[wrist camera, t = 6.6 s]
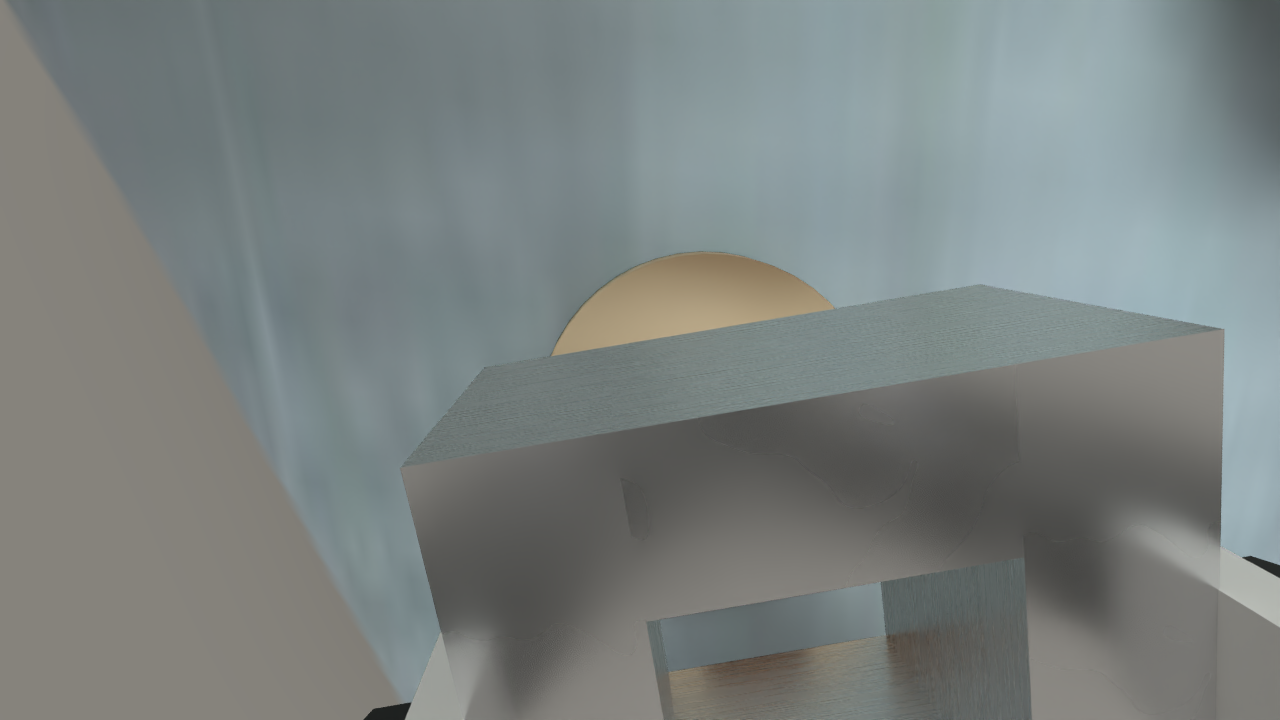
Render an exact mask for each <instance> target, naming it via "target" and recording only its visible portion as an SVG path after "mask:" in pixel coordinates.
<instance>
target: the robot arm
mask: <svg viewBox="0 0 1280 720" xmlns="http://www.w3.org/2000/svg"><path fill="white" fill-rule="evenodd" d="M364 720H465V719H463V717H462V713H461V709H460V705H459V701H458V697H457V693H456V689H455V685H454V681H453V677H452V673H451V669H450V665H449V661H448V657H447V653H446V649H445V645H444V641H443V637H442V633H441V632H440V635H439V637H438V640H437V642H436V644H435V647H434V649H433V652H432V654H431V657H430V659H429V662H428V664H427V667H426V669H425V671H424V674H423V676H422V679H421V681H420V684H419V686H418V689H417V691H416V694H415V696H414V698H413V701H412V702H411V703H405V704H399V705H394V706H388V707H383V708H376V709H373V710H372V711H371V712H370V713H369V714H368V716H367V717H366V718H365V719H364ZM1216 720H1280V565H1277V564H1274V563H1271V562H1268V561H1265V560H1262V559H1258V558H1255V557H1252V556H1248V557H1242V558H1241V557H1240V556H1238V555H1236V554H1234V553H1232V552H1230V551H1229V550H1227V549H1225V548H1223V547H1221V546H1220V589H1218V617H1217V674H1216Z"/></svg>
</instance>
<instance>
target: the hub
mask: <svg viewBox="0 0 1280 720" xmlns="http://www.w3.org/2000/svg"><path fill="white" fill-rule="evenodd" d="M830 309H835V308H834V307H833V306H832V305H831V304H830V302H828V301H827V300H826V299H825V298H824V297H823V296H822V295H820V294H819V293H818V292H817V291H816V290H815V289H814V288H812V287H811V286H809V285H808V284H806V283H804V282H803V281H801V280H800V279H798V278H797V277H795V276H793V275H791V274H789V273H787V272H785V271H783V270H781V269H779V268H776V267H774V266H772V265H769V264H766V263H763V262H760V261H757V260H753V259H750V258H747V257H744V256H740V255H734V254H728V253H722V252H689V253H679V254H674V255H669V256H665V257H661V258H657V259H654V260H651V261H648V262H646V263H643V264H640V265H638V266H635V267H633V268H632V269H630V270H628V271H626V272H624V273H622V274H620V275H619V276H617V277H615V278H614V279H612V280H611V281H610V282H608V283H607V284H605V285H604V286H603V287H601V288H600V289H599V290H597V291H596V292H595V293H594V294H593V295H592V296H591V297H590V298H589V299H588V300H587V301H586V302H585V303H584V304H583V305H582V306H581V307H580V308H579V310H578V311H577V312H576V313H575V315H574V316H573V317H572V318H571V320H570V321H569V322H568V324H567V326H566V327H565V329H564V331H563V332H562V334H561V336H560V337H559V339H558V341H557V343H556V346H555V348H554V350H553V352H552V355H551V356H555V355H561V354H567V353H573V352H579V351H585V350H591V349H597V348H603V347H609V346H615V345H621V344H627V343H633V342H639V341H645V340H651V339H657V338H663V337H669V336H675V335H681V334H687V333H693V332H699V331H705V330H711V329H717V328H723V327H729V326H735V325H741V324H746V323H752V322H758V321H764V320H770V319H776V318H782V317H788V316H794V315H800V314H806V313H812V312H818V311H824V310H830Z"/></svg>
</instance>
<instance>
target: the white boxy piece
mask: <svg viewBox="0 0 1280 720" xmlns="http://www.w3.org/2000/svg"><path fill="white" fill-rule="evenodd" d="M1223 374H1224V329H1221V328H1216V327H1210V326H1205V325H1199V324H1194V323H1188V322H1183V321H1177V320H1172V319H1166V318H1161V317H1155V316H1150V315H1145V314H1139V313H1134V312H1128V311H1123V310H1117V309H1112V308H1106V307H1101V306H1095V305H1090V304H1084V303H1079V302H1073V301H1068V300H1063V299H1057V298H1052V297H1046V296H1041V295H1035V294H1030V293H1024V292H1019V291H1013V290H1008V289H1002V288H997V287H991V286H986V285H981V284H980V285H974V286H968V287H962V288H956V289H950V290H944V291H938V292H932V293H926V294H920V295H914V296H908V297H902V298H896V299H890V300H884V301H878V302H872V303H866V304H860V305H854V306H848V307H842V308H836V309H830V310H824V311H818V312H812V313H806V314H800V315H794V316H788V317H782V318H776V319H770V320H764V321H758V322H752V323H746V324H741V325H735V326H729V327H723V328H717V329H711V330H705V331H699V332H693V333H687V334H681V335H675V336H669V337H663V338H657V339H651V340H645V341H639V342H633V343H627V344H621V345H615V346H609V347H603V348H597V349H591V350H585V351H579V352H573V353H567V354H561V355H555V356H549V357H543V358H537V359H531V360H525V361H519V362H513V363H507V364H501V365H495V366H489V367H484V369H483V370H482V371H481V372H480V373H479V374H478V376H477V377H476V378H475V379H474V380H473V382H472V383H471V384H470V385H469V386H468V388H467V389H466V390H465V391H464V392H463V394H462V395H461V396H460V397H459V398H458V399H457V401H456V402H455V403H454V404H453V405H452V407H451V408H450V409H449V410H448V411H447V413H446V414H445V415H444V416H443V417H442V419H441V420H440V421H439V422H438V423H437V425H436V426H435V427H434V428H433V429H432V430H431V432H430V433H429V434H428V435H427V436H426V438H425V439H424V440H423V441H422V442H421V444H420V445H419V446H418V447H417V448H416V450H415V451H414V452H413V453H412V454H411V455H410V457H409V458H408V459H407V460H406V461H405V463H404V464H403V465H402V466H401V467H400V469H401V473H402V477H403V481H404V485H405V489H406V493H407V497H408V501H409V505H410V509H411V513H412V517H413V521H414V525H415V529H416V533H417V537H418V541H419V545H420V549H421V553H422V557H423V561H424V565H425V569H426V573H427V577H428V581H429V585H430V589H431V593H432V597H433V601H434V605H435V609H436V613H437V617H438V621H439V625H440V629H441V633H442V637H443V641H444V645H445V649H446V653H447V657H448V661H449V665H450V669H451V673H452V677H453V681H454V685H455V689H456V693H457V697H458V701H459V705H460V709H461V713H462V717H463V719H465V720H1216V674H1217V617H1218V589H1220V537H1221V482H1222V428H1223ZM877 582H881V590H882V601H883V611H884V621H885V632H886V635H883V636H877V637H871V638H865V639H860V640H854V641H848V642H842V643H836V644H830V645H824V646H819V647H813V648H807V649H801V650H795V651H789V652H784V653H778V654H772V655H766V656H760V657H754V658H748V659H743V660H737V661H731V662H725V663H719V664H713V665H707V666H702V667H696V668H690V669H684V670H678V671H672V672H668V667H667V661H666V655H665V650H664V644H663V638H662V632H661V627H660V621H659V620H660V619H666V618H672V617H678V616H684V615H689V614H695V613H701V612H707V611H713V610H719V609H725V608H731V607H736V606H742V605H748V604H754V603H760V602H766V601H772V600H777V599H783V598H789V597H795V596H801V595H807V594H813V593H819V592H824V591H830V590H836V589H842V588H848V587H854V586H860V585H865V584H871V583H877Z"/></svg>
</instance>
